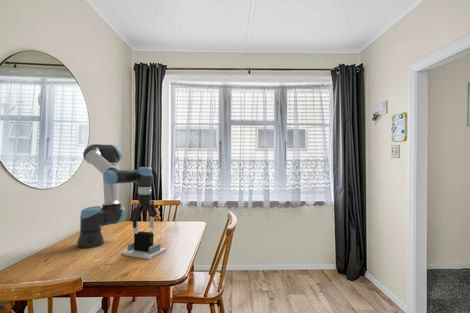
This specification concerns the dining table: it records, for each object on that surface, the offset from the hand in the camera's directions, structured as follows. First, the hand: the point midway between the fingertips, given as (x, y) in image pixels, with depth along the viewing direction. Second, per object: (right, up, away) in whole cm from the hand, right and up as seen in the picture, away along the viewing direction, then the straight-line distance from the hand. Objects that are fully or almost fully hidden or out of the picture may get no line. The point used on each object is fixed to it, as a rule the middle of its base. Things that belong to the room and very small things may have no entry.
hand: (143, 230), depth 160 cm
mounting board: (0, -13, -1) cm, 13 cm away
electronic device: (0, -11, -1) cm, 11 cm away
